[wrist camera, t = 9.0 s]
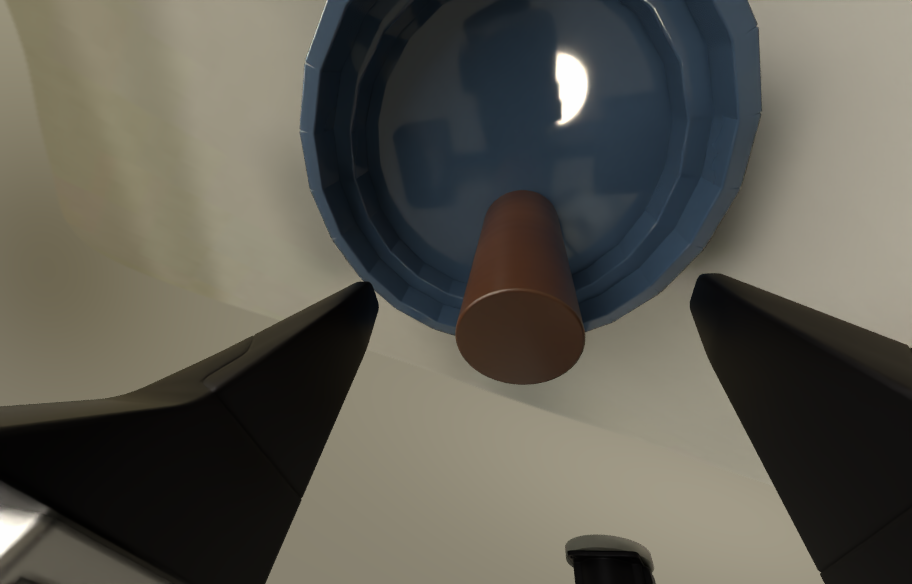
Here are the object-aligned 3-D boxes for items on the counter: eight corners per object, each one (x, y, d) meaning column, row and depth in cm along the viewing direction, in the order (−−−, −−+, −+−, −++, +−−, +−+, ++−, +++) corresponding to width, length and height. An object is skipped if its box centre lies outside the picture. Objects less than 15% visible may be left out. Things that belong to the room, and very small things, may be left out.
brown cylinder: (501, 267, 14) (486, 394, 9) (471, 208, 13) (432, 312, 7) (568, 243, 13) (601, 372, 8) (543, 176, 12) (561, 271, 6)
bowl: (442, 328, 18) (429, 372, 15) (279, 78, 12) (213, 80, 10) (720, 246, 13) (769, 291, 10) (662, -245, 7) (742, -425, 5)
